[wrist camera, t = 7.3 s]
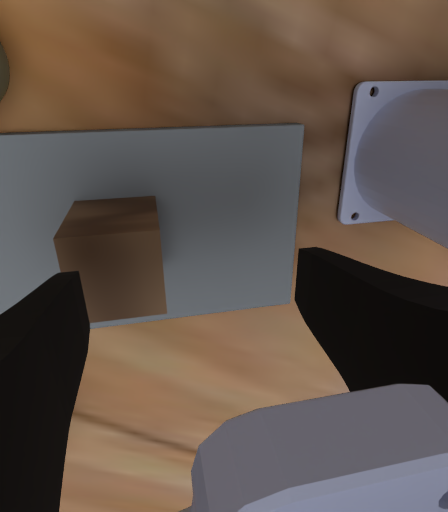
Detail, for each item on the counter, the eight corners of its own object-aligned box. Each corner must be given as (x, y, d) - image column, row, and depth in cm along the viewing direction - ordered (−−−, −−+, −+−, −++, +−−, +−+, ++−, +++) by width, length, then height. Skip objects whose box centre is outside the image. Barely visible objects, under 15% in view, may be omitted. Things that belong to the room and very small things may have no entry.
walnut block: (155, 195, 19) (159, 229, 14) (161, 264, 21) (167, 313, 16) (74, 200, 18) (52, 238, 14) (88, 271, 20) (72, 325, 15)
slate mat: (296, 123, 20) (304, 124, 19) (284, 295, 24) (290, 303, 24) (-75, 135, 17) (-87, 138, 16) (-6, 331, 21) (-13, 341, 20)
